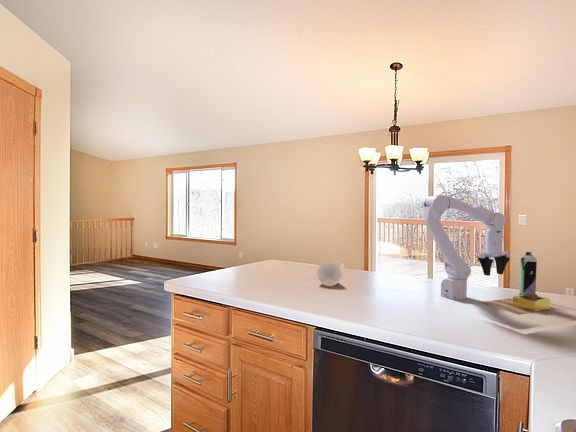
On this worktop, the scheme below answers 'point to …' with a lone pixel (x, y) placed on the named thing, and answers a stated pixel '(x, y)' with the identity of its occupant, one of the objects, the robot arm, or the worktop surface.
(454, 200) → the robot arm
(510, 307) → the board
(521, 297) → the golden square frame
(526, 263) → the spray can
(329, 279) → the grey rounded lump
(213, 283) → the worktop surface
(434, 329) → the worktop surface
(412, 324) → the worktop surface
